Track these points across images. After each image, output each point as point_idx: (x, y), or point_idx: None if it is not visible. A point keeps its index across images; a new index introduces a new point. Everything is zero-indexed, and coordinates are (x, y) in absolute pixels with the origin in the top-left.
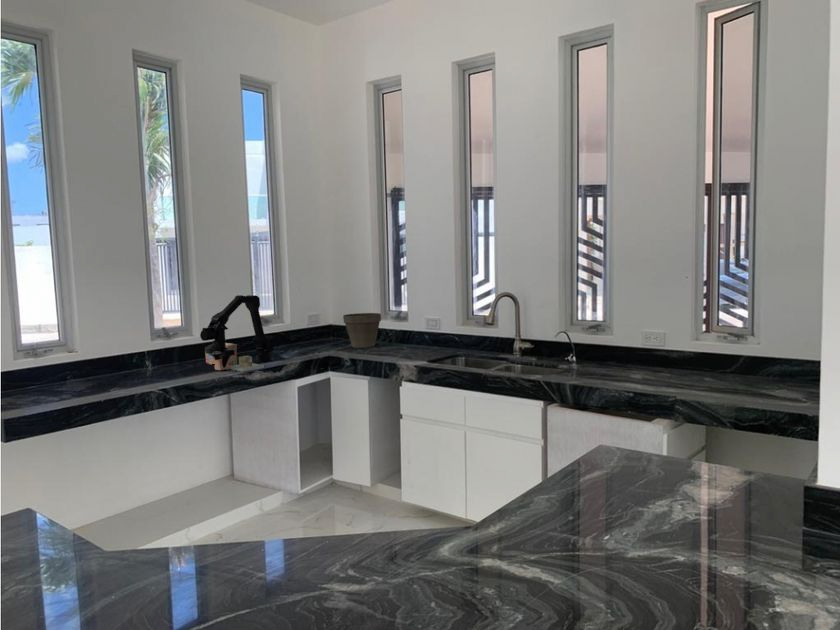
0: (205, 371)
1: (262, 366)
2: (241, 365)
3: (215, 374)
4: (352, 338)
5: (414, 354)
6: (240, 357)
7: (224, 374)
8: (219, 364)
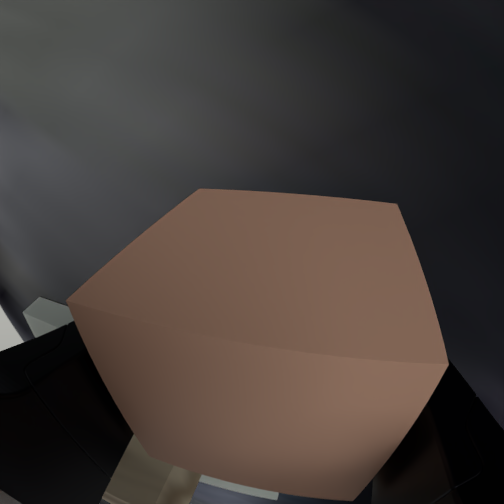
0: (494, 62)
1: None
2: None
3: (59, 17)
4: None
5: (101, 499)
6: (117, 495)
7: (4, 106)
8: (139, 242)
